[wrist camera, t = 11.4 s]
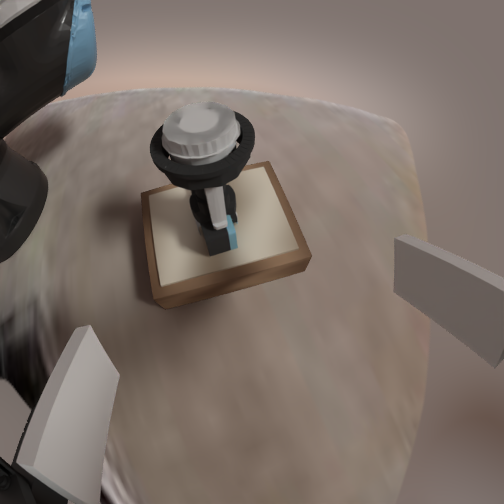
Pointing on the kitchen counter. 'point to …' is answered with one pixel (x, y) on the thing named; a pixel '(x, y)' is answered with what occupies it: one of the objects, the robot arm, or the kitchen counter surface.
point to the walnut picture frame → (227, 263)
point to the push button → (206, 164)
